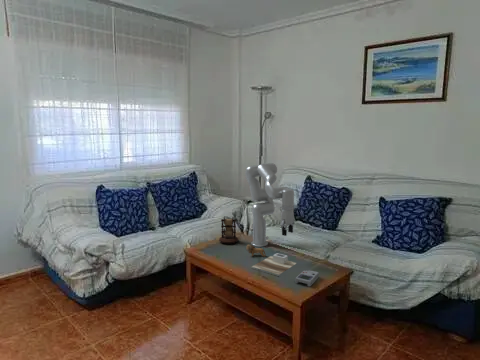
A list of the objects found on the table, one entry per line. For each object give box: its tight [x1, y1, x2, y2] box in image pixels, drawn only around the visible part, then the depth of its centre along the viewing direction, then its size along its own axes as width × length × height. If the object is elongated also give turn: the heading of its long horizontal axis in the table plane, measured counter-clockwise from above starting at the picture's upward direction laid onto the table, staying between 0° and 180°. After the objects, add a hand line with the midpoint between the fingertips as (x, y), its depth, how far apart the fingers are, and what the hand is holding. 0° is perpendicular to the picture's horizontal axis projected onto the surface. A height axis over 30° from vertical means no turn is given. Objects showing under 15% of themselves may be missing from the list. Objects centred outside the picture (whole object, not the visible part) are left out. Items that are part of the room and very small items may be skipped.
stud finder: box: [272, 252, 289, 264], centre depth 222 cm, size 5×8×4 cm, turn 52°
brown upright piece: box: [218, 216, 239, 245], centre depth 264 cm, size 15×15×20 cm
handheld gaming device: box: [294, 269, 320, 287], centre depth 198 cm, size 9×15×4 cm, turn 148°
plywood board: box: [251, 255, 297, 278], centre depth 217 cm, size 22×20×2 cm
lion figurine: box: [245, 244, 267, 258], centre depth 233 cm, size 15×5×9 cm, turn 85°
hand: (287, 233), depth 227 cm, fingers open, 7 cm apart
